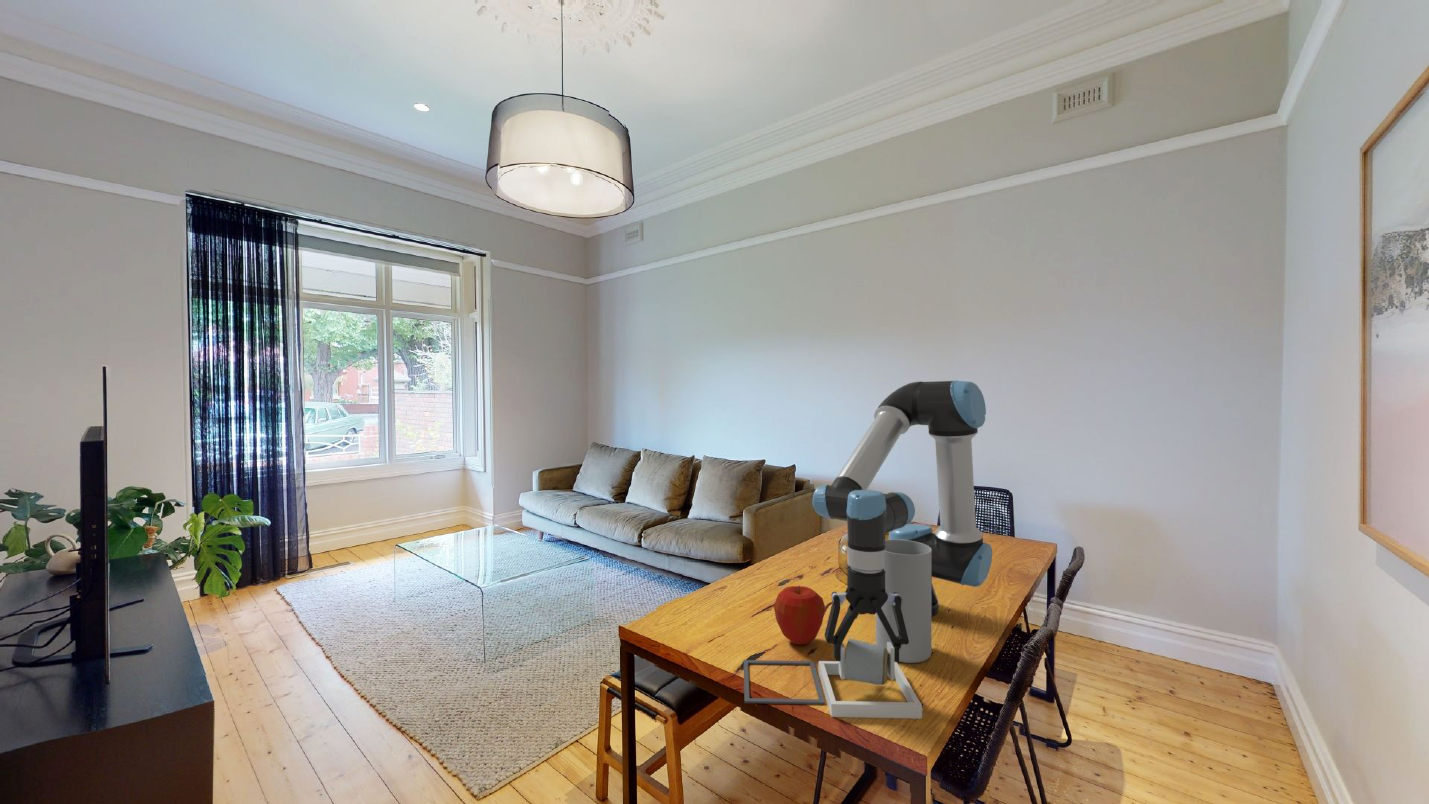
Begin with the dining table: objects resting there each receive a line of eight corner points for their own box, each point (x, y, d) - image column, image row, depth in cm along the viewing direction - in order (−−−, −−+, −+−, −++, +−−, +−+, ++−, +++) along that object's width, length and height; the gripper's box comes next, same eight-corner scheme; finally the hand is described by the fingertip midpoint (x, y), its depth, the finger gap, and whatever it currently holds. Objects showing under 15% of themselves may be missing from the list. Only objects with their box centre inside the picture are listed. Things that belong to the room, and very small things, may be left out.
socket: (893, 668, 118) (893, 657, 118) (922, 718, 100) (922, 705, 100) (817, 667, 119) (817, 656, 119) (831, 717, 101) (831, 704, 101)
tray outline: (813, 662, 121) (813, 661, 121) (825, 704, 105) (825, 702, 105) (743, 661, 121) (743, 660, 121) (744, 703, 106) (744, 701, 106)
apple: (765, 644, 130) (765, 587, 130) (789, 626, 139) (789, 573, 139) (811, 659, 122) (810, 599, 122) (833, 639, 132) (833, 583, 132)
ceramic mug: (887, 693, 103) (887, 654, 103) (843, 685, 106) (844, 647, 106) (888, 667, 113) (888, 631, 113) (849, 661, 116) (849, 626, 116)
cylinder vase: (869, 638, 132) (869, 539, 132) (920, 639, 132) (920, 539, 131) (884, 664, 120) (884, 555, 119) (939, 665, 119) (940, 555, 119)
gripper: (914, 561, 111) (914, 667, 112) (809, 561, 112) (809, 665, 113) (927, 574, 104) (927, 687, 104) (814, 573, 105) (815, 685, 105)
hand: (866, 676), depth 108 cm, fingers closed on ceramic mug, 9 cm apart
